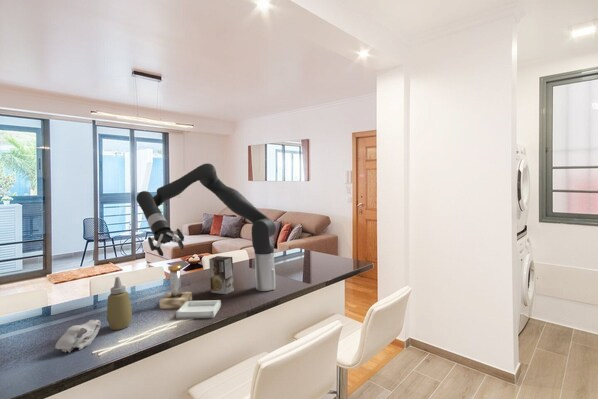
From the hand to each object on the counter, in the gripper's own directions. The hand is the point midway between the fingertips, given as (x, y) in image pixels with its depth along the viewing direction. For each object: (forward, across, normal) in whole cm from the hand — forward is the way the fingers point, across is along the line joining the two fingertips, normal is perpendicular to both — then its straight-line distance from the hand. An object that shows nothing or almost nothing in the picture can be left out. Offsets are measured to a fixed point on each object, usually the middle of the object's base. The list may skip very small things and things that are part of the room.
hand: (172, 251), depth 142 cm
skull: (+26, +39, +3) cm, 47 cm away
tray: (+29, 0, -4) cm, 29 cm away
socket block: (+17, +4, -14) cm, 22 cm away
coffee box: (+18, -17, -18) cm, 31 cm away
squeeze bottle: (+22, +27, -4) cm, 35 cm away
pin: (+17, +4, -14) cm, 22 cm away
